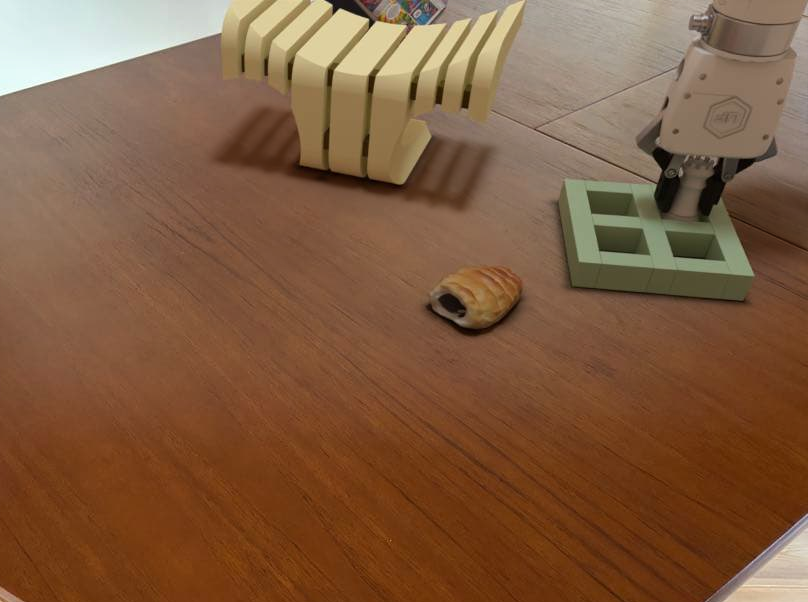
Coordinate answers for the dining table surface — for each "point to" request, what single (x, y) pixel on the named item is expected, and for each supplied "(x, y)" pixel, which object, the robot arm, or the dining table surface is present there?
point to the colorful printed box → (394, 11)
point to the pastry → (476, 295)
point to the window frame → (648, 244)
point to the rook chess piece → (690, 189)
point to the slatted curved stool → (366, 77)
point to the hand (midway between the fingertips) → (682, 206)
